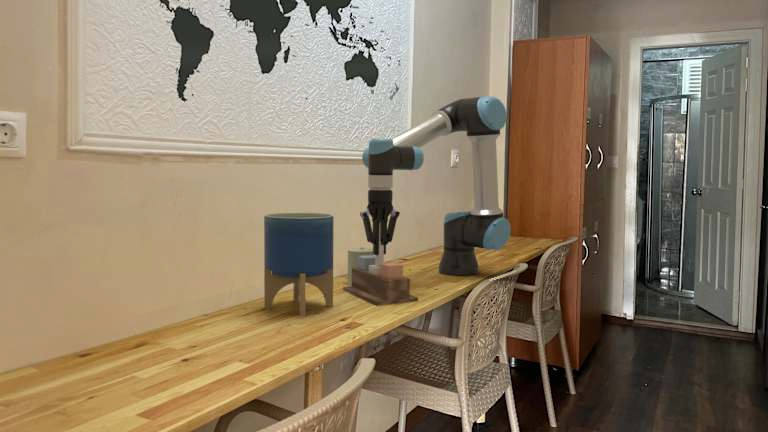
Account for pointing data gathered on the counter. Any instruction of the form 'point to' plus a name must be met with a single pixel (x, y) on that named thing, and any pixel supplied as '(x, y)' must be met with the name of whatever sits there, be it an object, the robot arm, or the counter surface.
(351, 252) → the can
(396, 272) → the key terracotta
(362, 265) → the grey square block
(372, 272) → the key white
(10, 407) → the counter surface
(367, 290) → the brown block holder tray
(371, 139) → the robot arm
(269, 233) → the planter
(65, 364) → the counter surface
